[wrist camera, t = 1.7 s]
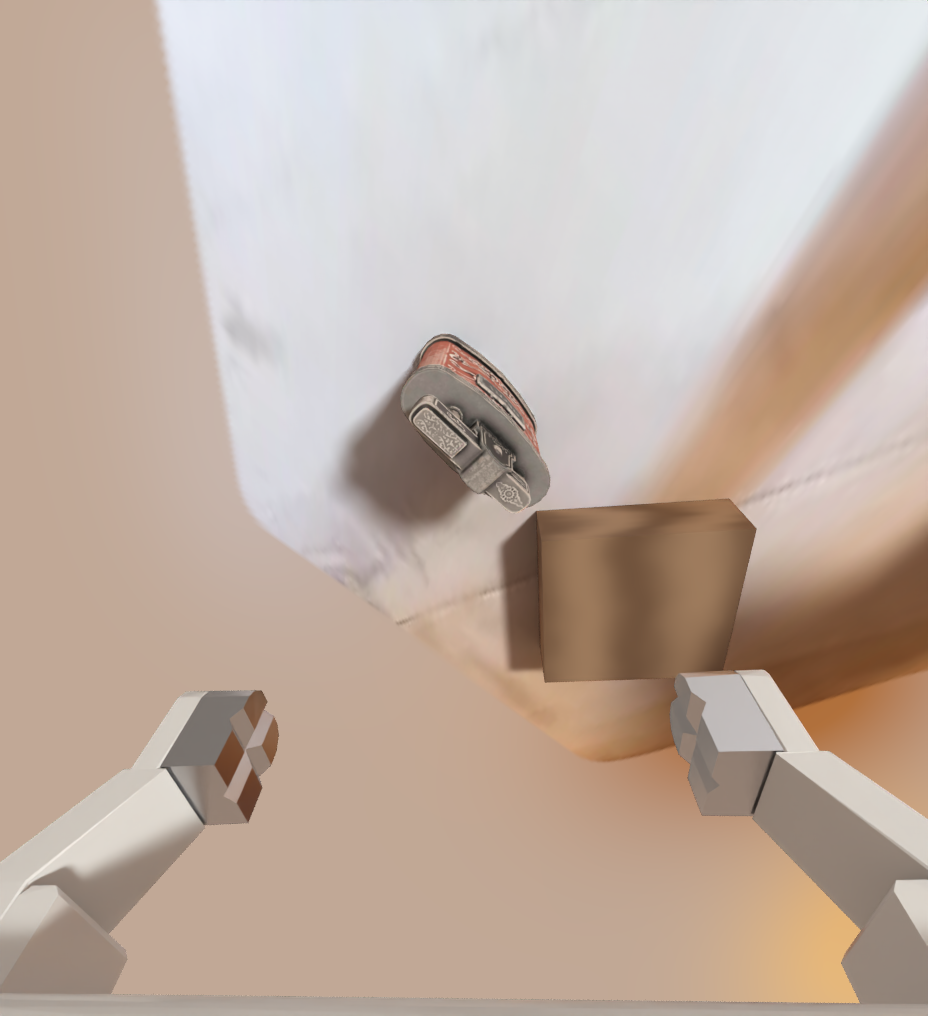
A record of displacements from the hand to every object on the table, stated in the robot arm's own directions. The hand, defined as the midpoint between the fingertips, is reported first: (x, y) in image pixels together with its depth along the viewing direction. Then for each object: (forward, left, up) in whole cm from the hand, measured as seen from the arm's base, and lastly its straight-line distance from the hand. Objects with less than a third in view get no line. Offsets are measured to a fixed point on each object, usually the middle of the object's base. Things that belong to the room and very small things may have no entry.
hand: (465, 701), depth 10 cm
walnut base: (-9, +14, -21) cm, 27 cm away
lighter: (0, 0, -21) cm, 21 cm away
